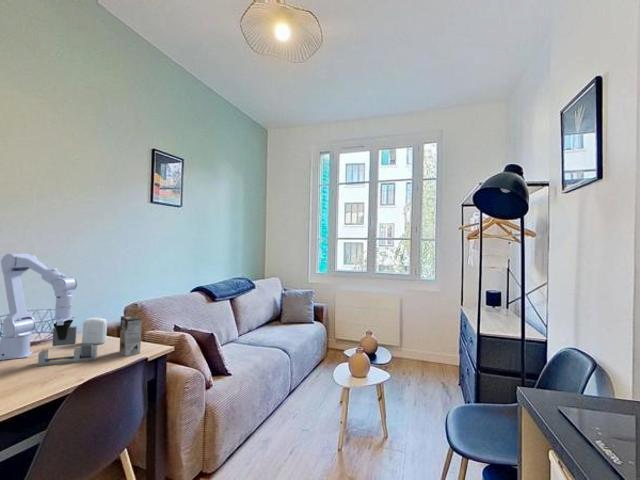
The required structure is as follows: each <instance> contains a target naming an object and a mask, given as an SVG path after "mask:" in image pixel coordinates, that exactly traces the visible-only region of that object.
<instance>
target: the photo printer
mask: <svg viewBox="0 0 640 480" xmlns="http://www.w3.org/2000/svg"><path fill="white" fill-rule="evenodd" d="M107 327H108V320H107V319H105V318H103V317H102V318H101V317H89V318H87V319H85V320H84V321H83V323H82V340H81V343H82V345H83V344H92V345H99V344H100V345H101V344H103V345H104V344H106V342H107V330H108V329H107Z"/></svg>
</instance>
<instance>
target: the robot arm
mask: <svg viewBox="0 0 640 480" xmlns="http://www.w3.org/2000/svg"><path fill="white" fill-rule="evenodd" d="M0 264H1V272H2V274H3V281H4V287H5V294H6V299H7V306H8V312H9V314H8V315H7V316H6V317H5V318H4V319H3V320H2V322H3V325H2V333H3V335H4V336H2V337H1V338H0V361H3V360H12V359H14V360H15V359H23V358H28V357H29V356H31V355H32V353H33V352H34V351H33V350H31V334H33V332H34V331H35V330H36V327H37V321H36V320H35V318H34V315H33V313H31V312H30V311H27V307H26V301H25V300H26V299H25V295H24V289H23V288H24V287H23V284H22V283H23V282H22V275H23V274H24V273H26V272H27V271H29V270H32V271H34V272H35V273H37V274H40V275H41V280H43V281H45V282H46V283H48V284H49V285H51V286H52V289H53V291H54V296H55V309H54V310H55V311H54V315H55V316H54V321H55V322H54V323H53V327H54V328H55V329H56V331H57V335H58V339H59V340H65V339H66V335H67V331H68V328H69V327H71V325H72V323H73V322H74V320H73V319H75V318H76V315H73V309H74V307H73V304H74V291H75V290H76V289H77V287H78V281H77V279H76V278H74V277H73V276H66V274H64V273H62V272H60V271H59V269H58V268H56V267H53V268H52V267H50V268H48V266H46V265H45V264H44V263H43V262H41V261H40V260H38V257H37V256H36V255H35V254H34V253H30V252H29V253H27V252H26V253H6V254H4V256H3V257H2V258H1V259H0Z"/></svg>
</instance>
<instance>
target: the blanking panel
mask: <svg viewBox="0 0 640 480" xmlns="http://www.w3.org/2000/svg"><path fill="white" fill-rule="evenodd" d="M77 330H78V327H77V325H75V326H70V327H69V328H68V331H67V335H66V339H65V340H59V339H58V335H57V331H56V329H55V327H54V328H53V330H52V331H53V332H52V347H57V346H69V345H70V346H71V345H76V343H77Z"/></svg>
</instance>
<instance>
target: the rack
mask: <svg viewBox="0 0 640 480" xmlns="http://www.w3.org/2000/svg"><path fill="white" fill-rule="evenodd" d="M97 356H98V344H83V343H82V344H81V346H79V345H78V346H75V349H74V350H73V355H69V356H58V357H49V348H45V349H41V350H40V352H38V357H37V358H38V359H37V361H38V362H37V366H38V367H45V366H53V365H62V364H63V365H64V364H70V363H71V364H72V363H80V362H87V361H89V362H90V361H95V360H96V359H97Z"/></svg>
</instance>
